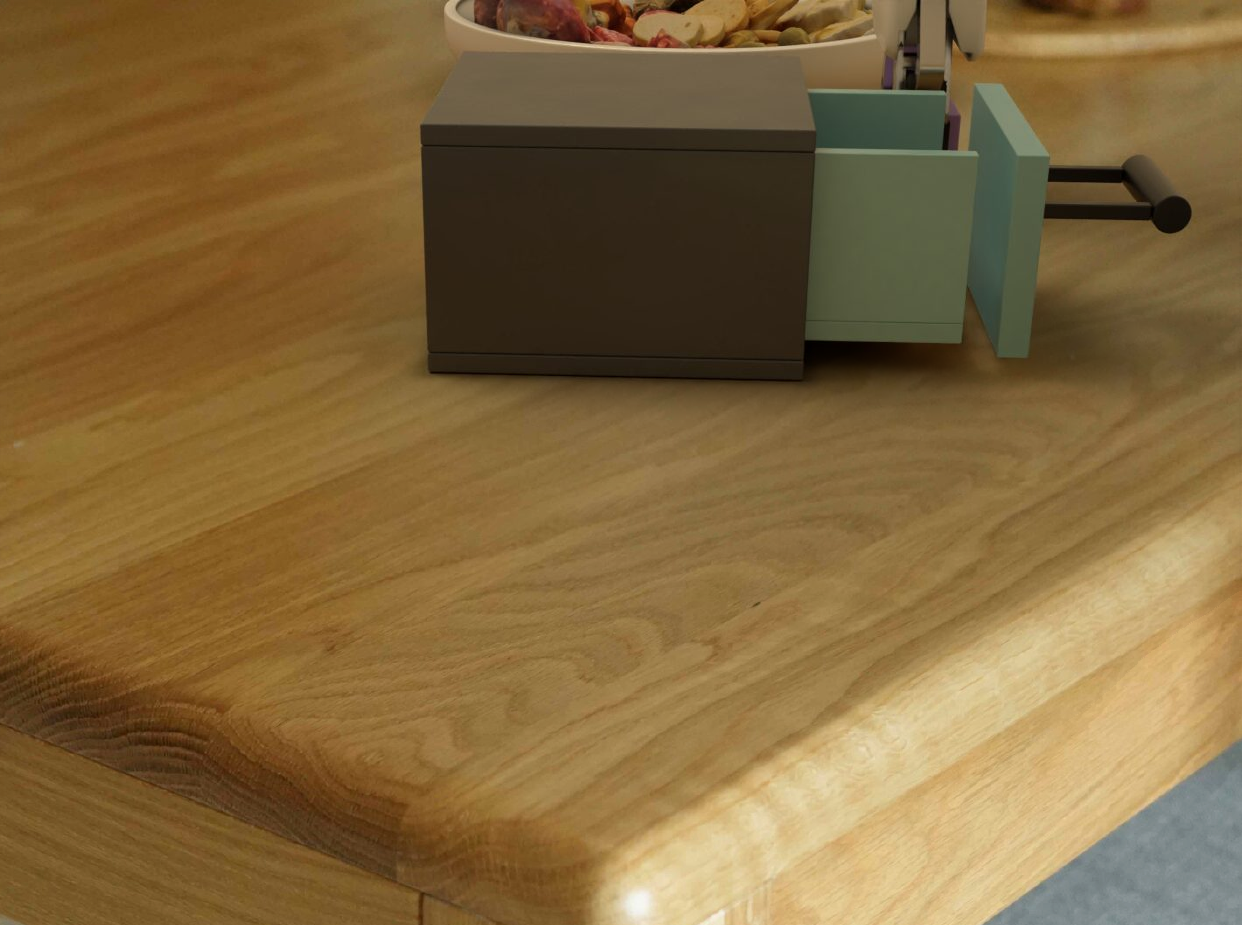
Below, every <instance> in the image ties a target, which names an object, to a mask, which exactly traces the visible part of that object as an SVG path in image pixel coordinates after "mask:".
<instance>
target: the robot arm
mask: <svg viewBox="0 0 1242 925" xmlns="http://www.w3.org/2000/svg"><path fill="white" fill-rule="evenodd" d="M987 4H988V0H872V6H873V28H874V32H875V35H876V38H877V40H878V42H879V45H880V47H881V49H882V51H883V52H884V57H883V68H882V79H881V90H928V91H945V93H946V95H947V98H946V109H945V121H944V132H943V144H942V150H948V144H949V132H950V121H948V115H949V99H950V98H951V83H952V82H951V80H952V66H953V46H954V43H955V45H956V46H957V48H958V50H959V51H960V53H962V54H963V56H964V57H965V59H966V60H967V61H968V62H976V61H977V60H978V59H980V58H981V57H982V56H983V54H984V51H985V42H986V24H987V8H988V6H987ZM953 42H954V43H953Z"/></svg>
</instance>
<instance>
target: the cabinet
mask: <svg viewBox="0 0 1242 925" xmlns="http://www.w3.org/2000/svg"><path fill="white" fill-rule="evenodd" d="M419 134H420V136H419V138H420V145H421V147H420V159H421V161H420V162H421V163H420V165H421V167H420V168H421V196H422V199H421V200H422V223H423V225H422V230H423V255H424V256H423V257H424V259H423V260H424V288H425V289H424V290H425V318H426V319H425V320H426V321H425V322H426V350H427V370H428V372H430V373H468V374H469V373H471V374H506V375H507V374H508V375H509V374H511V375H512V374H514V375H552V376H553V375H556V376H560V375H561V376H596V377H597V376H599V377H600V376H601V377H643V378H645V377H647V378H686V379H687V378H688V379H689V378H690V379H691V378H693V379H730V380H732V379H734V380H735V379H736V380H772V381H773V380H774V381H775V380H776V381H777V380H780V381H802V380H803V379H804V366H805V364H804V359H805V346H806V345H805V344H806V340H805V330H806V312H807V295H808V277H809V260H810V242H811V225H812V208H813V190H814V173H815V151H816V138H817V131H816V126H815V122H814V118H813V113H812V109H811V104H810V100H809V95H808V91H807V87H806V82H805V78H804V73H803V69H802V64H801V60H800V57H799V56H745V55H679V54H614V53H549V52H483V51H464V52H462V54H461V56H460V58H459V59H458V61H457V62H456V63H455V64H454V66H453V68H452V69H451V71H450V73H449V75H448V76H447V78H446V80H445V81H444V83H443V85H442V87H441V88H440V90H439V92H438V94H437V95H436V96H435V98H434V100H433V102H432V104H431V106H430V108H428V111H427V112H426V114H425V116H424V117H423V119H422V121H421V123H420V125H419Z"/></svg>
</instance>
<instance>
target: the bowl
mask: <svg viewBox="0 0 1242 925" xmlns="http://www.w3.org/2000/svg"><path fill="white" fill-rule="evenodd" d="M443 16H444V31H445V38H446V41H447V45H448V47H449V50H450V53H451V54H452V56H453V58H454V60H455V62H456V63H457V61H458V59H459V58H460V56H461V54H462V52H464V51H483V52H549V53H614V54H679V55H745V56H799V57H800V60H801V64H802V69H803V73H804V78H805V82H806V87H807V89H866V90H881V79H882V68H883V57H884V52H883V51H882V49H881V47H880V45H879V42H878V40H877V38H876V35H875V32H874V28H873V6H872V0H448V1H447V2H446V3H445V5H444V8H443Z"/></svg>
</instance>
